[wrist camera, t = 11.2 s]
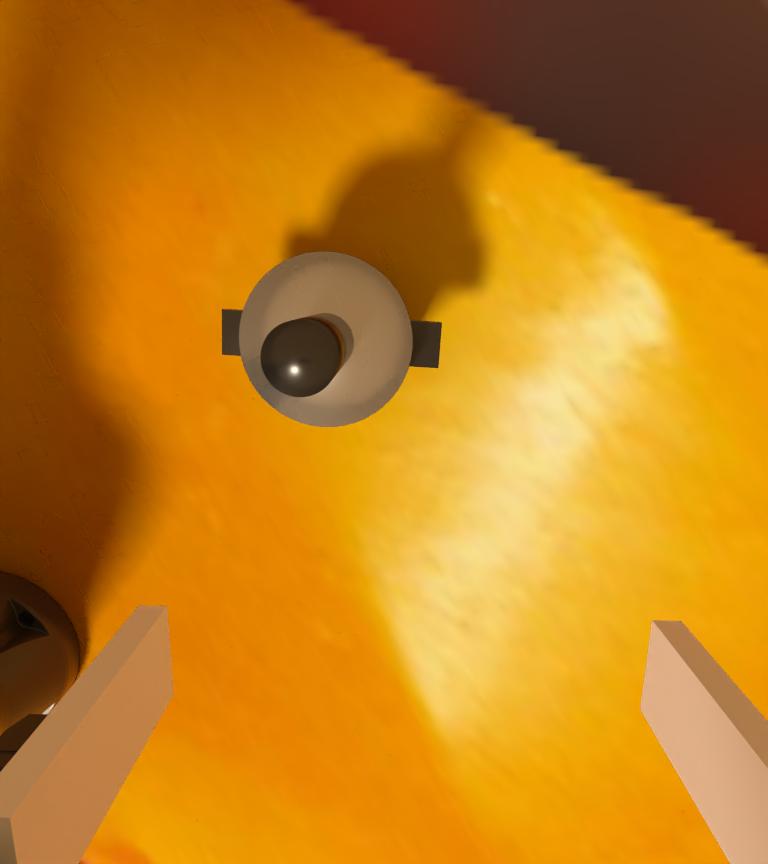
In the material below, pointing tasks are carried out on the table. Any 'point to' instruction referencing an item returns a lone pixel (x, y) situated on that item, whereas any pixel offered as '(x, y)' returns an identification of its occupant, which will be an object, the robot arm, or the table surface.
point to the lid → (325, 339)
